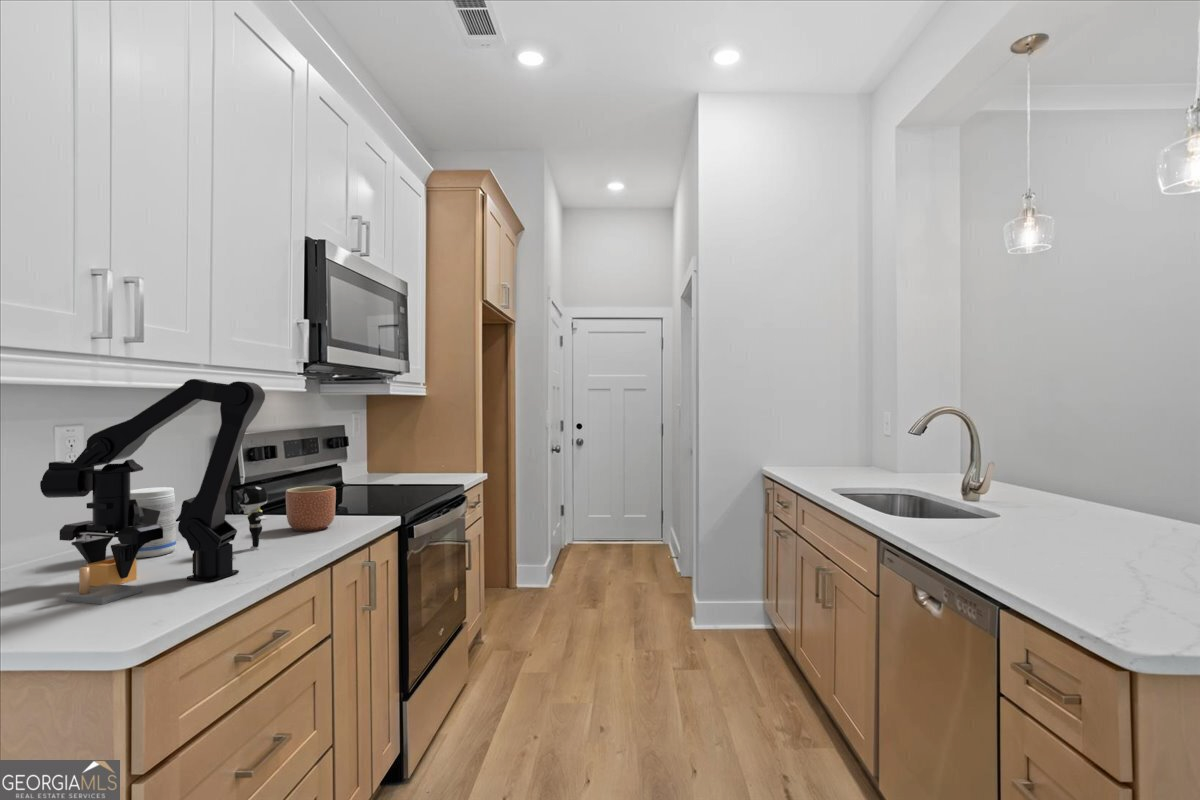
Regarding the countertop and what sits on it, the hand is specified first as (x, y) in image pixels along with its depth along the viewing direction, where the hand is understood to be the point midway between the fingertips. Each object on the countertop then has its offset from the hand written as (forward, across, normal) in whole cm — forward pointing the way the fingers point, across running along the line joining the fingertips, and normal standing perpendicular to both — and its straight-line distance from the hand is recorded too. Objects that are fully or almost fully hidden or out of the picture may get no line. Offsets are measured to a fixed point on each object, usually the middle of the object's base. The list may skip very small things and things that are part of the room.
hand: (111, 576), depth 118 cm
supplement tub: (+1, +14, -20) cm, 24 cm away
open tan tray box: (+1, 0, 0) cm, 1 cm away
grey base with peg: (+1, -8, +7) cm, 10 cm away
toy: (+1, -6, -28) cm, 29 cm away
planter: (+1, -3, -52) cm, 52 cm away
